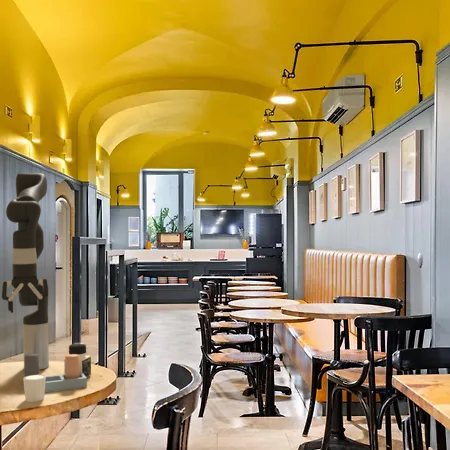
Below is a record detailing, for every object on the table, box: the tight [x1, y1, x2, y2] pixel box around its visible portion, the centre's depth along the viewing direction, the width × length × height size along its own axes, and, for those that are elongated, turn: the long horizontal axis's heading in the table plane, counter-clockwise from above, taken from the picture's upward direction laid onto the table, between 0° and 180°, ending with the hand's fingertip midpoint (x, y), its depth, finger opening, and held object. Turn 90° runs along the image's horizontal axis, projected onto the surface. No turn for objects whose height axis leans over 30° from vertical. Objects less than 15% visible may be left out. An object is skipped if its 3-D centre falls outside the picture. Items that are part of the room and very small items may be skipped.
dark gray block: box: [23, 354, 40, 377], centre depth 200 cm, size 5×5×10 cm
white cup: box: [22, 374, 47, 403], centre depth 182 cm, size 7×7×7 cm
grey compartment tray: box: [45, 354, 88, 393], centre depth 196 cm, size 9×15×10 cm, turn 114°
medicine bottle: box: [63, 342, 92, 378], centre depth 208 cm, size 7×7×12 cm
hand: (25, 311), depth 189 cm, fingers open, 8 cm apart
